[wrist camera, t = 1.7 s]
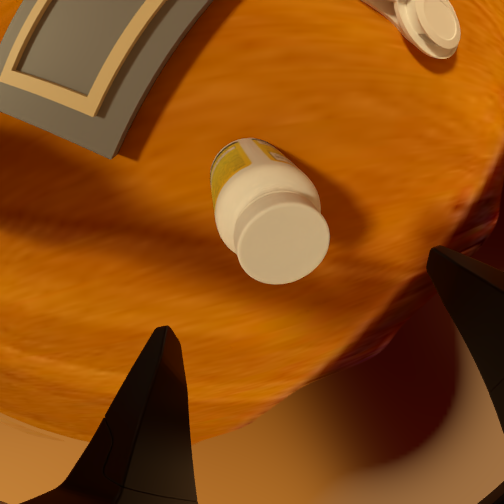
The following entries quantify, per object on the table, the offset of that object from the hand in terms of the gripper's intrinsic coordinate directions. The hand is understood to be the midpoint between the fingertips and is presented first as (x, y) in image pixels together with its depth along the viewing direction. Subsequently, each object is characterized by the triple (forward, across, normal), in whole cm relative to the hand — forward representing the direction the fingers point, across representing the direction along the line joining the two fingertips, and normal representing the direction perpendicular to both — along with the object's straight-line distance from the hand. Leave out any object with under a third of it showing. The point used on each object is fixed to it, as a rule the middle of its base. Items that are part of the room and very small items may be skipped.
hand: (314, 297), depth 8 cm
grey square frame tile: (+13, +8, -14) cm, 21 cm away
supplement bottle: (+13, 0, 0) cm, 13 cm away
